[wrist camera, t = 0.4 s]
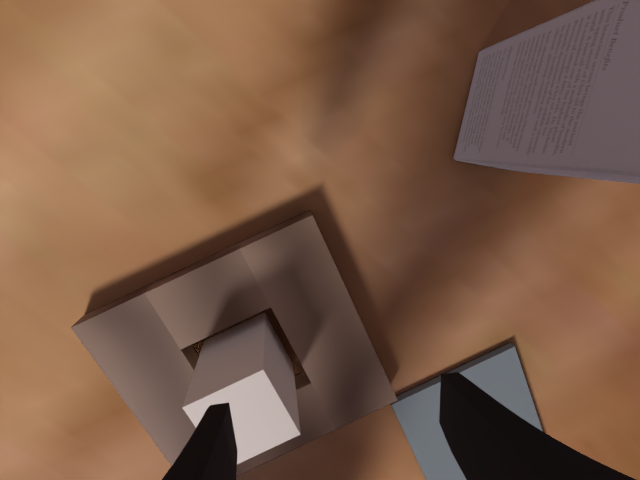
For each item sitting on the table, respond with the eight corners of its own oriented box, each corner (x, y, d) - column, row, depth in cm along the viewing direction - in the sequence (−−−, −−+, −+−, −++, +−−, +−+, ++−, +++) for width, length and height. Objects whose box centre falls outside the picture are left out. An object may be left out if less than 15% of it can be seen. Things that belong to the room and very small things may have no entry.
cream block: (235, 391, 24) (224, 470, 18) (204, 340, 23) (182, 407, 17) (293, 363, 24) (300, 434, 18) (264, 312, 23) (263, 369, 17)
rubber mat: (432, 492, 28) (435, 498, 28) (389, 399, 26) (391, 404, 25) (542, 439, 28) (547, 445, 28) (510, 342, 26) (514, 346, 25)
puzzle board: (198, 476, 25) (193, 496, 24) (84, 315, 21) (70, 327, 20) (390, 385, 25) (397, 400, 24) (309, 209, 22) (312, 214, 20)
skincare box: (516, 172, 23) (771, 204, 11) (450, 160, 22) (649, 181, 10) (547, 63, 21) (874, -29, 10) (477, 46, 21) (742, -73, 9)
